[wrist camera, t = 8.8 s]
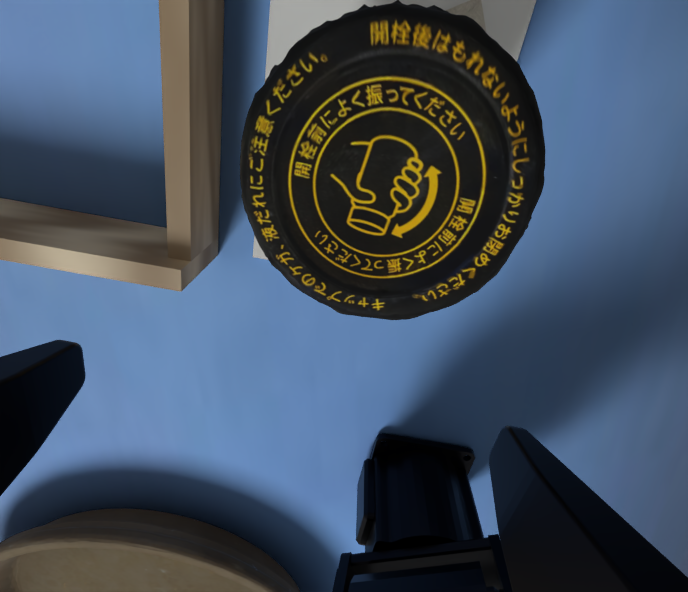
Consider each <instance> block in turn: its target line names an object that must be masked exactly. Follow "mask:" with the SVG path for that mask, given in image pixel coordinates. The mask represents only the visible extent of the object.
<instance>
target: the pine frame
mask: <svg viewBox="0 0 688 592" xmlns="http://www.w3.org/2000/svg"><path fill="white" fill-rule="evenodd" d="M159 18H160V46H161V74H162V102H163V130H164V159H165V187H166V215H167V228H165V227H159V226H154V225H148V224H143V223H137V222H132V221H126V220H120V219H115V218H109V217H104V216H98V215H93V214H87V213H82V212H76V211H71V210H65V209H59V208H54V207H48V206H43V205H37V204H32V203H26V202H21V201H15V200H10V199H4V198H0V260H6V261H11V262H17V263H22V264H28V265H34V266H39V267H45V268H51V269H56V270H62V271H68V272H73V273H79V274H85V275H90V276H96V277H102V278H107V279H113V280H119V281H124V282H130V283H136V284H141V285H147V286H153V287H158V288H164V289H170V290H175V291H182V290H183V289H184V288H185V287H186V286H187V285H188V284H189V283H190V282H191V281H192V280H193V279H194V278H195V277H196V276H197V275H198V274H199V273H200V272H201V271H202V270H203V269H204V268H205V267H206V266H207V265H208V264H209V263H210V262H211V261H212V260H213V259H214V258H215V257H216V256H217V255H218V233H219V194H220V155H221V116H222V77H223V38H224V0H159Z"/></svg>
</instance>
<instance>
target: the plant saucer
mask: <svg viewBox="0 0 688 592" xmlns="http://www.w3.org/2000/svg"><path fill="white" fill-rule="evenodd" d="M0 592H300V590H299V588H298V586H297V585H296V583H295V582H294V580H293V579H292V578H291V576H290V575H289V574H288V573H287V572H286V571H285V570H284V568H283V567H282V566H280V565H279V564H278V563H277V562H276V561H275V560H274V559H272V558H271V557H270V556H269V555H267V554H266V553H265V552H263V551H262V550H260V549H259V548H258V547H256V546H254V545H253V544H251V543H249V542H247V541H246V540H244V539H242V538H240V537H238V536H236V535H234V534H232V533H230V532H228V531H225V530H223V529H221V528H218V527H216V526H213V525H210V524H207V523H205V522H202V521H198V520H195V519H192V518H188V517H184V516H180V515H176V514H172V513H166V512H160V511H153V510H144V509H126V508H121V509H99V510H91V511H85V512H80V513H76V514H72V515H68V516H65V517H62V518H59V519H57V520H54V521H52V522H50V523H48V524H46V525H44V526H39V527H35V528H32V529H29V530H26V531H23V532H21V533H18V534H16V535H13V536H11V537H9V538H8V539H6V540H4V541H2V542H1V543H0Z"/></svg>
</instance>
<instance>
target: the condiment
mask: <svg viewBox="0 0 688 592" xmlns="http://www.w3.org/2000/svg"><path fill="white" fill-rule="evenodd" d="M544 169H545V143H544V136H543V129H542V119H541V116H540V112H539V108H538V105H537V101H536V98H535V95H534V92H533V90H532V89H531V87H530V86H529V84H528V82H527V80H526V78H525V76H524V74H523V72H522V70H521V68H520V65H519V64H518V63H517V62H516V61H515V59H514V58H513V57H512V56H511V55H510V54H509V53H508V52H507V51H505V50H504V49H503V48H502V47H501V46H500V45H499V44H498V42H496V41H495V40H494V39H492V38H491V37H490V36H489V35H488V34H487V33H486V27H485V21H484V14H483V8H482V2H481V0H470V1H467V2H465V3H462V4H460V5H457V6H455V7H453V8H450V9H448V10H446V11H445V10H443V9H441V8H440V7H437V6H435V5H432V6H430V7H427V8H426V7H423V6H421V5H418V4H409V5H405V4H403V3H401V2H400V1H399V0H396V1H395V2H393V3H390V4H384V5H379V6H376V5H374V6H373V7H368V6H367V5H365V4H363V5H362V6H361V7H360V8H359V9H358V10H356V11H353V12H348V13H345V14H344V15H342V16H341V17H340V18H338V19H336V20H333V21H328V20H327V21H326V22H324V23H323V24H322V25H320V26H318V27H316V28H314V29H312V30H311V31H310V32H309V33H308V34H307V35H306V36H304V37H303V38H302V39H300V40H298V41H297V43H295V44H294V45H293V47H291V48H290V50H289V51H288V53H287V55H286V57H285V58H284V60H283V61H282V62H281V63H280V64H279V65H274V67H273V68H272V69H271V71H270V74H269V76H268V78H267V79H266V81H265V84H264V85H263V87H262V88H261V89H260V90H259V91H258V92H257V93H255V96H254V99H253V101H252V104H251V106H250V109H249V111H248V114H247V118H246V121H245V126H244V131H243V136H242V141H241V155H240V181H241V189H242V200H243V204H244V209H245V212H246V213H247V216H248V220H249V222H250V224H251V226H252V228H253V232H254V235H255V237H256V239H257V242H258V244H259V246H260V248H261V249H262V251H263V252H264V254H265V256H266V257H267V258H268V260H269V261H270V263H271V264H272V265H273V266H274V267H275V268H276V269H278V270H279V271H280V272H281V273H282V274H283V276H284V277H285V278H286V279H287V280H288V281H289V282H290V283H291V284H292V285H293V286H295V287H296V288H297V289H299V290H300V291H301V292H303V293H305V294H306V295H308V296H310V297H312V298H313V299H315V300H317V301H318V302H320V303H323V304H325V305H327V306H329V307H331V308H332V309H334V310H335V311H337V312H338V313H341V314H346V315H355V316H361V317H372V318H380V319H388V320H401V319H411V318H415V317H418V316H421V315H424V314H426V313H429V312H434V311H437V310H440V309H443V308H446V307H449V306H452V305H454V304H456V303H458V302H460V301H461V300H463V299H465V298H466V297H468V296H470V295H471V294H473V293H475V292H477V291H478V290H479V289H481V288H482V287H483V286H484V285H485V284H486V283H487V282H488V281H489V280H491V279H492V278H493V277H494V276H496V275H497V273H498V272H499V271H500V269H501V268H502V266H503V265H504V264H505V262H506V261H507V259H508V258H509V256H510V254H511V253H512V251H513V249H514V247H515V246H516V244H517V243H518V241H519V240H520V239H521V237H522V236H523V234H524V232H525V230H526V229H527V228H528V224H529V221H530V219H531V215H532V213H533V210H534V208H535V206H536V204H537V202H538V200H539V197H540V195H541V193H542V189H543V185H544Z"/></svg>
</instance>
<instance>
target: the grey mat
mask: <svg viewBox="0 0 688 592" xmlns="http://www.w3.org/2000/svg"><path fill="white" fill-rule="evenodd" d="M395 1H396V0H270V15H269V29H268V44H267V58H266V73H265V81H266V79H267V78H268V76H269V74H270V71H271V69H272V68H273V67H274V65H279V64H280V63H281V62H282V61H283V60H284V58H285V57H286V55H287V53H288V51H289V50H290V48H291V47H293V45H294V44H295V43H297V41H298V40H300V39H302V38H303V37H304V36H306V35H307V34H308V33H309V32H310V31H311V30H312V29H314V28H316V27H318V26H320V25H322V24H323V23H324V22H326V21H327V20H328V21H333V20H336V19H338V18H340V17H341V16H342V15H344V14H345V13H348V12H353V11H356V10H358V9H359V8H360V7H361V6H362V5H363V4H365V5H367V6H368V7H373V6H374V5H376V6H379V5H384V4H390V3H393V2H395ZM399 1H400V2H401V3H403V4H405V5H409V4H418V5H421V6H423V7H426V8H427V7H430V6H432V5H435V6H437V7H440V8H441V9H443V10H445V11H446V10H448V9H450V8H453V7H455V6H457V5H460V4H462V3H465V2H467V1H470V0H399ZM481 2H482V8H483V14H484V21H485V27H486V33H487V34H488V35H489V36H490V37H491V38H492V39H494V40H495V41H496V42H498V44H499V45H500V46H501V47H502V48H503V49H504V50H505V51H507V52H508V53H509V54H510V55H511V56H512V57H513V58H514V59H515V61H516V62H517V60H518V57H519V54H520V51H521V47H522V44H523V41H524V38H525V35H526V32H527V28H528V25H529V22H530V19H531V16H532V13H533V10H534V6H535V3H536V0H481ZM253 257H256V258H261V259H267V260H268V258H267V257H266V256H265V254H264V252H263V251H262V249H261V248H260V246H259V244H258V242H257V239H256V237H255V235H254V248H253Z"/></svg>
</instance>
